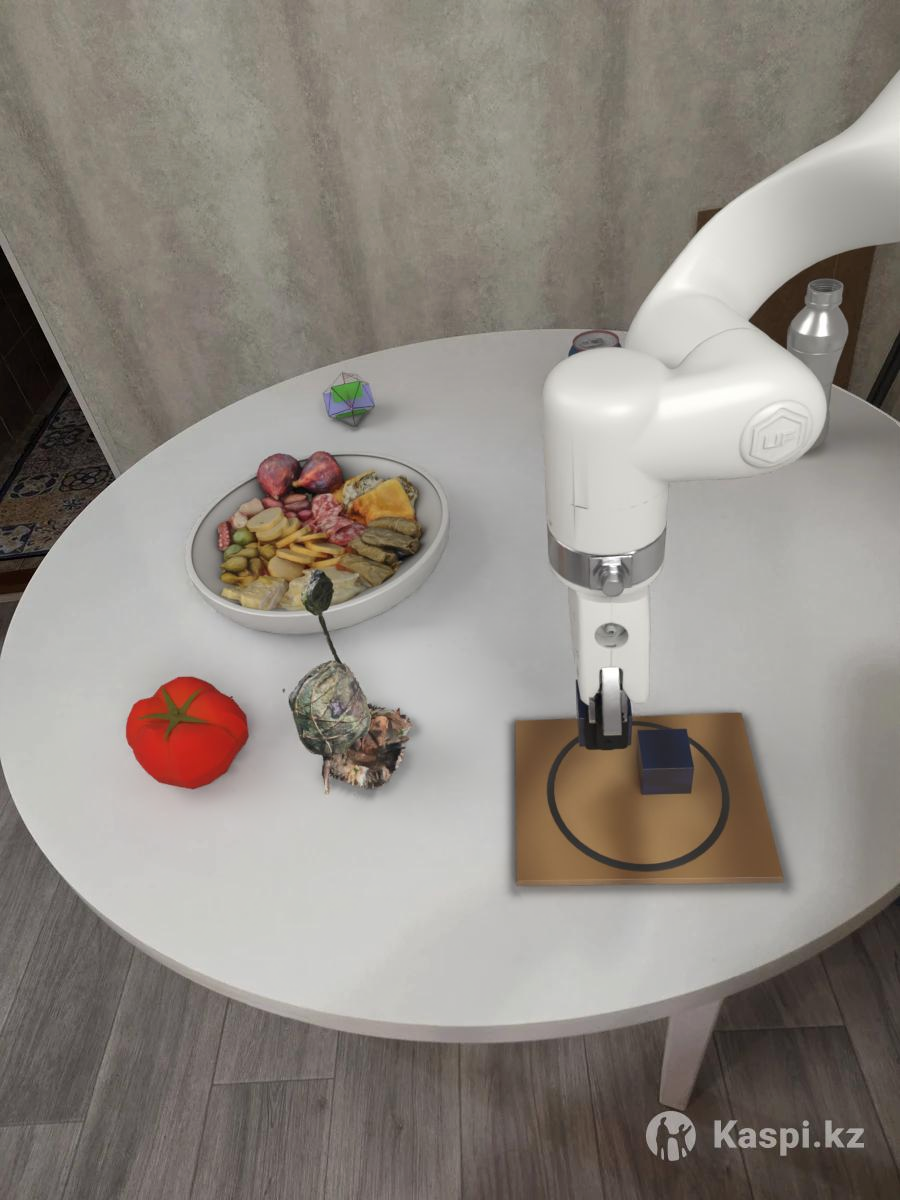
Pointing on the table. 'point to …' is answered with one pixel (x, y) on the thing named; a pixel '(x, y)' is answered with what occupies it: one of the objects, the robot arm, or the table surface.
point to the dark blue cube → (664, 761)
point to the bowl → (318, 539)
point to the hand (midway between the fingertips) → (603, 720)
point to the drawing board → (639, 809)
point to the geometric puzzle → (349, 397)
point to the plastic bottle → (820, 336)
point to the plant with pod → (344, 712)
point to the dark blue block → (583, 707)
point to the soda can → (594, 341)
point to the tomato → (186, 733)
